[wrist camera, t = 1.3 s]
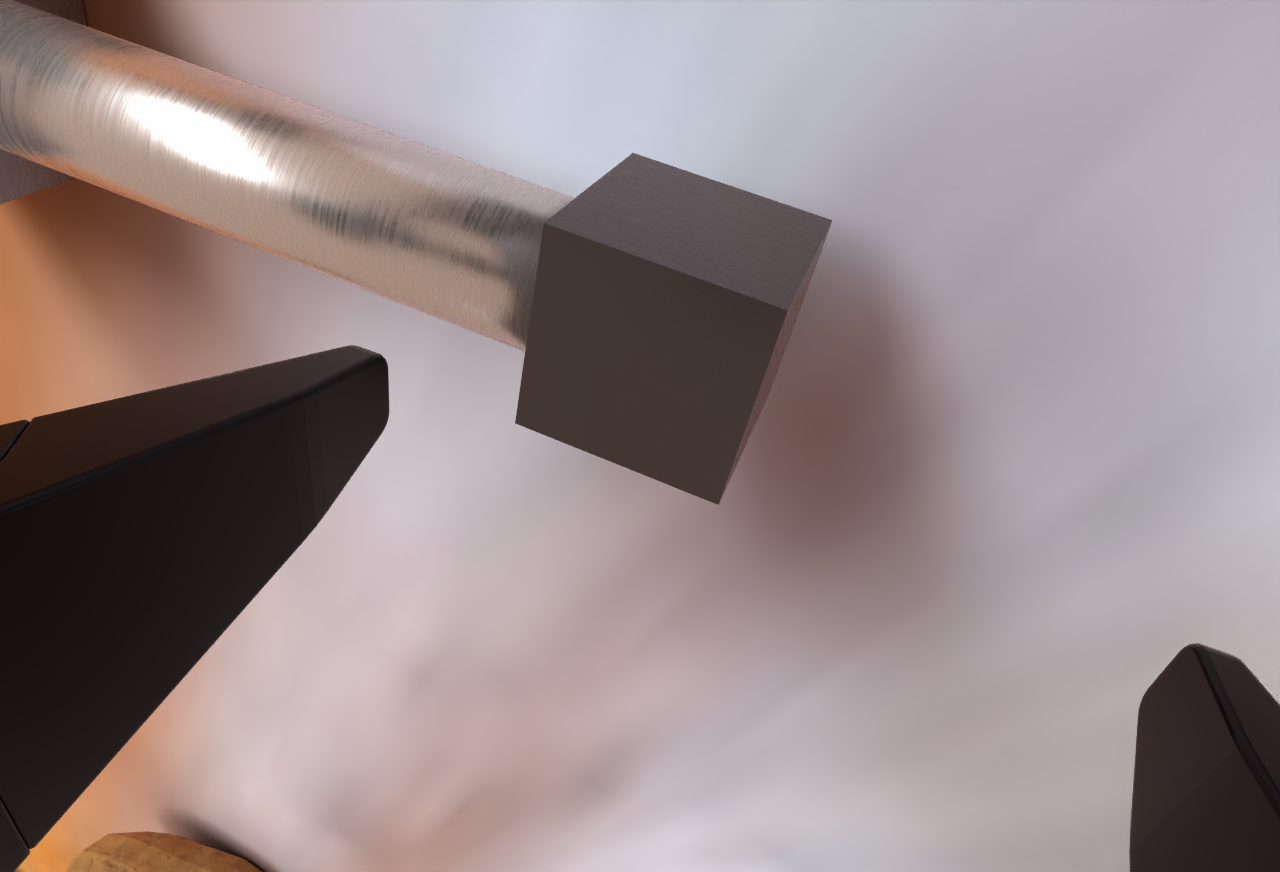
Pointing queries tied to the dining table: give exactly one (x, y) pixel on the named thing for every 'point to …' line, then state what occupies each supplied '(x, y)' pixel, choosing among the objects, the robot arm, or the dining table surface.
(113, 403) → the robot arm
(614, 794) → the dining table surface
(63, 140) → the shaft
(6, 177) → the pillow block
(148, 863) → the potato
